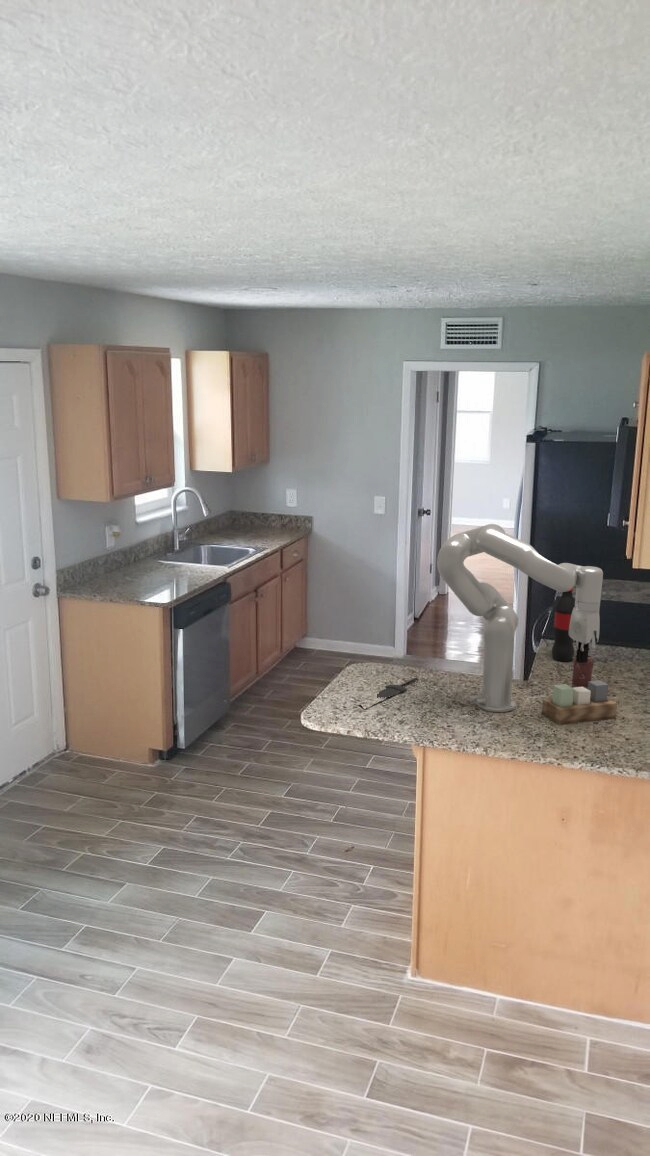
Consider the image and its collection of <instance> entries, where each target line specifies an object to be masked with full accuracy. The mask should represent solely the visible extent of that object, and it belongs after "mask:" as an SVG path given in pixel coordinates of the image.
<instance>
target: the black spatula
mask: <svg viewBox="0 0 650 1156" xmlns="http://www.w3.org/2000/svg"><path fill="white" fill-rule="evenodd" d="M418 678H419V677H414V678H412V679H410V680H408V681H406V682H405V683H402V684H400V685H399V684H388V685H386V686H385V688H386V689H385V688H384V689H382V690H379V691H378V692H379V694H377V698H378V697H380V698H381V697H384V698H385V697H389V696H392V697H393V695H394V696H396V695H397V694H401V693H400V692H404V693H406V692H407V691H408V689H407V687H406V686H407V685H410V684H412V683H414V682H417V680H419V679H418ZM403 686H404V687H403ZM405 691H406V692H405ZM395 694H396V695H395Z"/></svg>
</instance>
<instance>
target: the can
mask: <svg viewBox="0 0 650 1156" xmlns="http://www.w3.org/2000/svg"><path fill="white" fill-rule="evenodd" d="M593 668H594V658H593V657H592V656H590V655H588V661H587V662H586V663H579V662H577V661H576V655H574V657H573V670H572V680H571V681H572V682H571V687H572V688H574V687H584V688H586V689H588V682H589V681H592V677H593V675H592V672H593Z"/></svg>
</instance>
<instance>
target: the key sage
mask: <svg viewBox="0 0 650 1156" xmlns="http://www.w3.org/2000/svg"><path fill="white" fill-rule="evenodd" d="M552 690H553V691H552V698H553V703H554V704H556V705H557V706H559V707H565V706H572V703H573V690H574V688H572V686H570V685H568V684H565V683H561V684H553V689H552Z"/></svg>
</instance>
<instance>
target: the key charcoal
mask: <svg viewBox="0 0 650 1156" xmlns="http://www.w3.org/2000/svg"><path fill="white" fill-rule="evenodd" d="M588 690H590V691H591V694H590V700H591V701H593V702H594V703H598V702H606V701H607V698H608V694H609V693H608V692H609V684H608V683H606V682H605V681H603V680H598V679H597V680H591V681H589V682H588Z"/></svg>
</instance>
